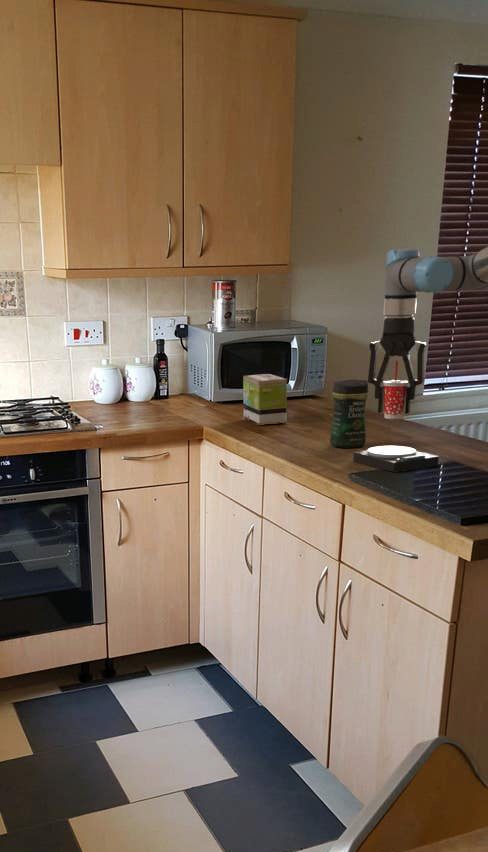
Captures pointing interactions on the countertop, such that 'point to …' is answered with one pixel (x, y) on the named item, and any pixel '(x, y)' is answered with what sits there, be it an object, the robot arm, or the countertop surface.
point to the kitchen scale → (395, 458)
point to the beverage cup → (394, 397)
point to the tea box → (265, 398)
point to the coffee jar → (349, 413)
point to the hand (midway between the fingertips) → (393, 412)
